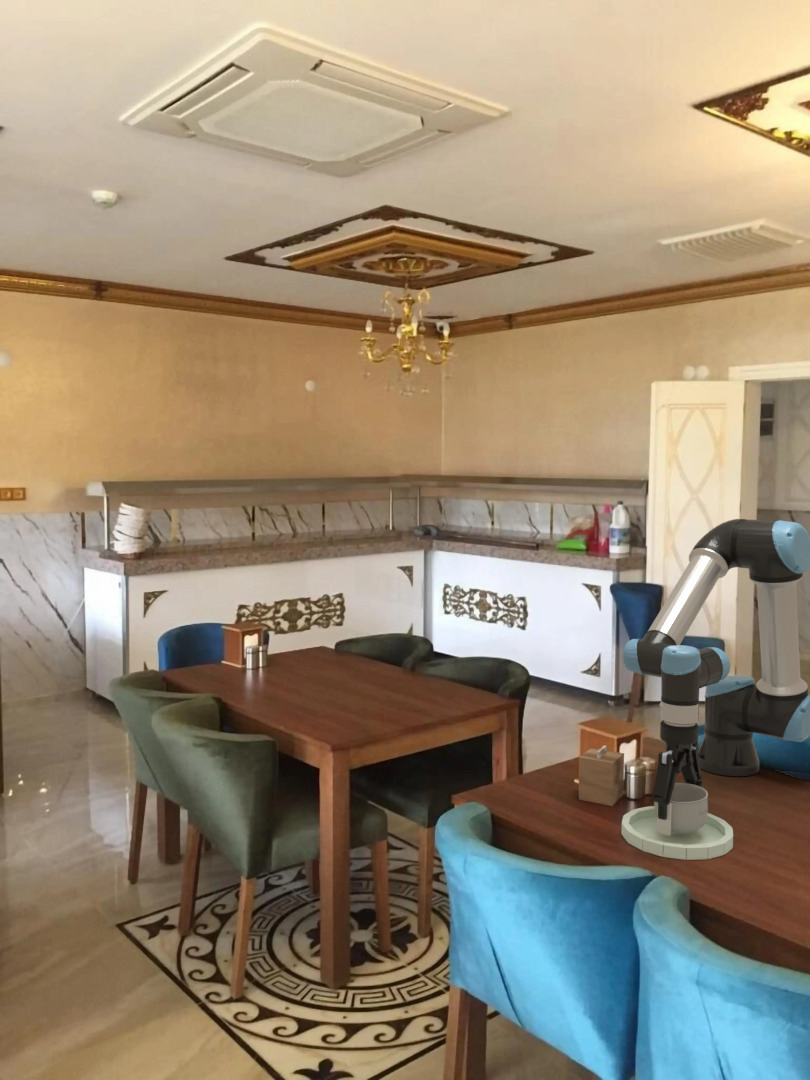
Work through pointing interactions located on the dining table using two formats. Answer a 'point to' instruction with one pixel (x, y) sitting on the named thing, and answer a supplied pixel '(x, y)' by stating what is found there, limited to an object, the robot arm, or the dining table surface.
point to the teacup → (687, 808)
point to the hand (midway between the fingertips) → (676, 824)
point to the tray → (677, 837)
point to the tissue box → (601, 776)
